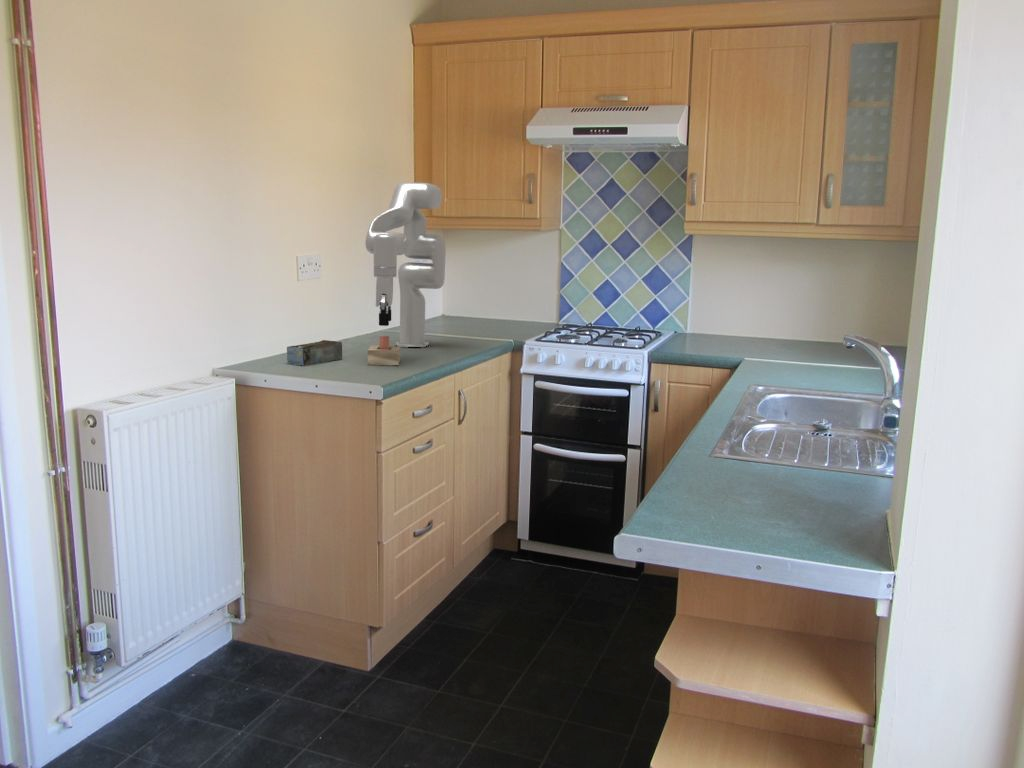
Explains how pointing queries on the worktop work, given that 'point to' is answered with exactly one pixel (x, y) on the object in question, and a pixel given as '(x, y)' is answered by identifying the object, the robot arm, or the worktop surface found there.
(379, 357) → the socket block
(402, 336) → the robot arm
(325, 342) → the weathered blue-grey brick
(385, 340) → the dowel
